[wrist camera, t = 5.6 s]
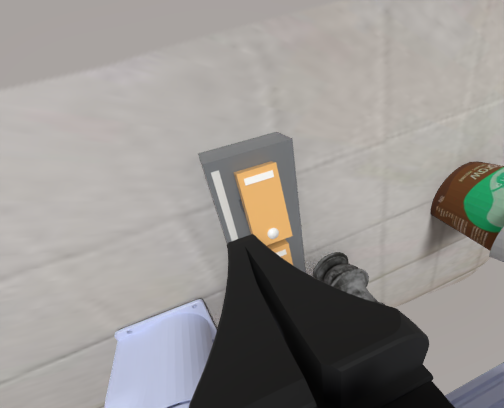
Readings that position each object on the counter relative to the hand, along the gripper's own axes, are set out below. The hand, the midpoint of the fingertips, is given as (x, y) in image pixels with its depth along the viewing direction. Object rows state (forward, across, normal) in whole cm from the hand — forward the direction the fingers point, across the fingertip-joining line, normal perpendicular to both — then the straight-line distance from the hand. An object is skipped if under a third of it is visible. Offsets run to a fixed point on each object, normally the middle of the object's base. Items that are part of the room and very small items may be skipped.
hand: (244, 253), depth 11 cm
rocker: (+6, -3, +2) cm, 7 cm away
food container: (+11, -31, +10) cm, 34 cm away
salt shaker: (+11, -12, +17) cm, 23 cm away
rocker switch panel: (+10, -3, +8) cm, 14 cm away
